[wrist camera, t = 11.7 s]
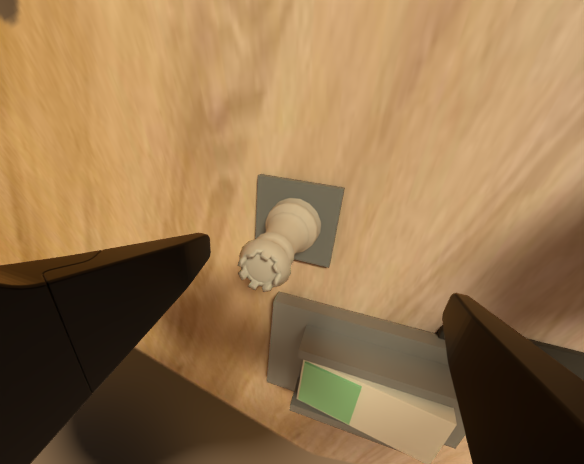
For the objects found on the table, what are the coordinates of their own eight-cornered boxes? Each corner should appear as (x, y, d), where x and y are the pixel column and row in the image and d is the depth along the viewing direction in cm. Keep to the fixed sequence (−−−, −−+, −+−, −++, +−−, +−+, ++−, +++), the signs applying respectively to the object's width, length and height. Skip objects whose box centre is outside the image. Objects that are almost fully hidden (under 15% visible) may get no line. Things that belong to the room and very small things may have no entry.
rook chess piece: (325, 244, 21) (303, 307, 14) (276, 247, 22) (233, 304, 15) (317, 193, 19) (288, 233, 12) (265, 199, 21) (212, 238, 14)
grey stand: (503, 352, 21) (536, 406, 17) (450, 431, 26) (465, 488, 22) (278, 291, 25) (261, 323, 21) (271, 370, 30) (256, 407, 26)
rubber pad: (344, 187, 19) (343, 189, 18) (329, 264, 22) (328, 267, 21) (260, 173, 20) (257, 175, 20) (257, 247, 23) (254, 250, 23)
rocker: (453, 405, 19) (457, 427, 18) (427, 446, 22) (429, 468, 20) (309, 344, 23) (302, 358, 22) (302, 385, 26) (295, 400, 24)
